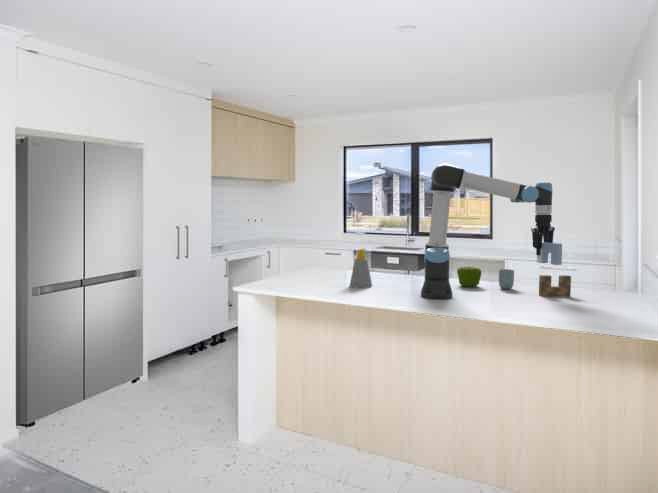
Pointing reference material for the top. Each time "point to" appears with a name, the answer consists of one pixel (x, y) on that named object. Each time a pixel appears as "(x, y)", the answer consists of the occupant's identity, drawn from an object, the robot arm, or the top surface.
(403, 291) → the top surface
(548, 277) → the brown u-shaped block
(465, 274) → the green rounded piece
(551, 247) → the grey tunnel block
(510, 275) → the cup
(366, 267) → the soap bottle
